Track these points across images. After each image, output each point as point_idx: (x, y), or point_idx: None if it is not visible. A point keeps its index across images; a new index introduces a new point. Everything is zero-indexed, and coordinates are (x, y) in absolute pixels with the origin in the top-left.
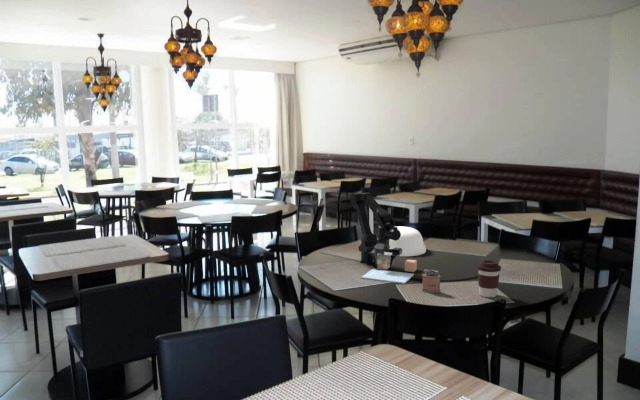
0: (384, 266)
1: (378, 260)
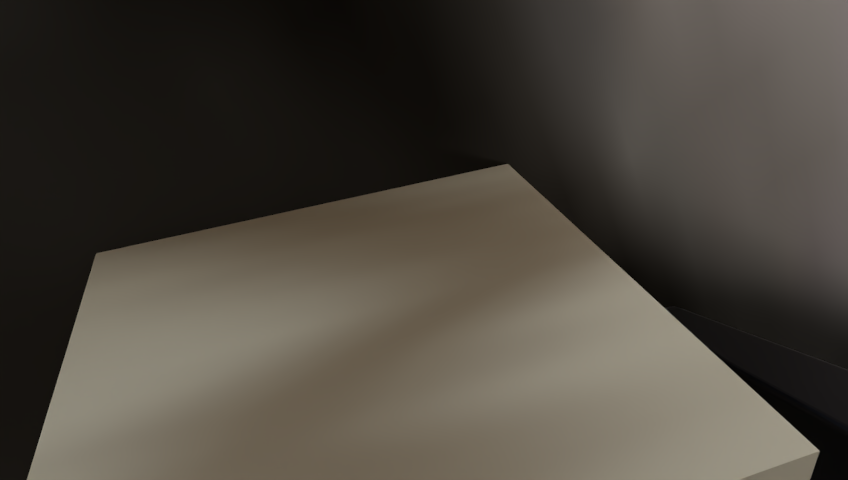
0: (200, 311)
1: (710, 432)
